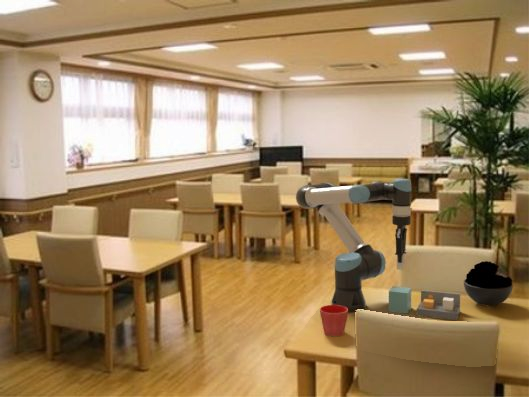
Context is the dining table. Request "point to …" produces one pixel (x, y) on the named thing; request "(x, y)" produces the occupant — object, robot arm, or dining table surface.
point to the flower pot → (334, 319)
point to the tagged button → (428, 303)
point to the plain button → (448, 303)
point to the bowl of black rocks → (487, 284)
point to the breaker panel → (439, 305)
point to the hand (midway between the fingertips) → (400, 268)
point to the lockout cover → (400, 299)
